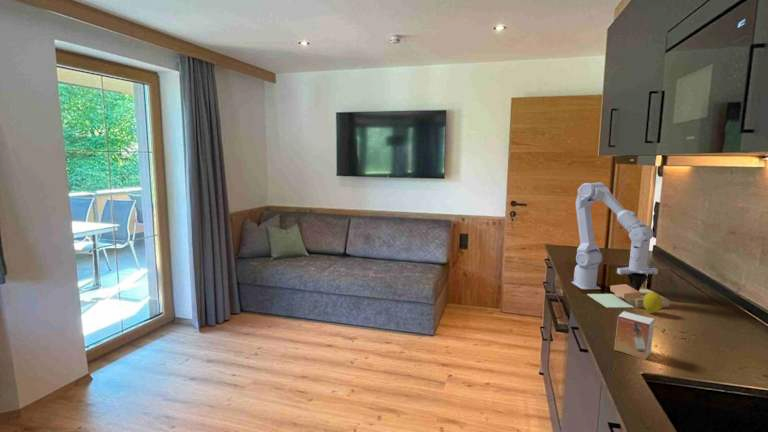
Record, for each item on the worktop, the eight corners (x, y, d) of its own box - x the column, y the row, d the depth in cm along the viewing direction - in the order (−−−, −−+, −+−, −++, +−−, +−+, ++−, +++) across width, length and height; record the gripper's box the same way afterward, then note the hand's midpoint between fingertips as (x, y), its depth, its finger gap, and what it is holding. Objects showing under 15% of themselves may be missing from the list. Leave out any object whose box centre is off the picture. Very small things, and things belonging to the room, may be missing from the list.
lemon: (657, 317, 141) (660, 295, 140) (639, 312, 145) (642, 291, 144) (663, 313, 144) (665, 292, 143) (645, 309, 148) (647, 288, 147)
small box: (613, 350, 117) (617, 315, 115) (619, 344, 121) (623, 310, 119) (645, 360, 111) (650, 324, 110) (651, 353, 115) (655, 318, 114)
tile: (610, 290, 160) (610, 285, 160) (625, 288, 160) (625, 284, 160) (624, 298, 152) (624, 293, 151) (640, 296, 152) (640, 291, 151)
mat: (587, 294, 163) (587, 293, 163) (611, 294, 163) (611, 293, 163) (607, 308, 149) (607, 307, 149) (634, 307, 149) (634, 306, 149)
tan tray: (614, 294, 163) (615, 287, 163) (643, 294, 164) (644, 287, 163) (636, 307, 150) (637, 300, 149) (668, 307, 150) (669, 300, 149)
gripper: (626, 260, 150) (622, 295, 152) (665, 260, 150) (660, 295, 152) (615, 255, 157) (611, 289, 159) (651, 255, 157) (648, 289, 159)
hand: (635, 292), depth 156 cm, fingers closed
